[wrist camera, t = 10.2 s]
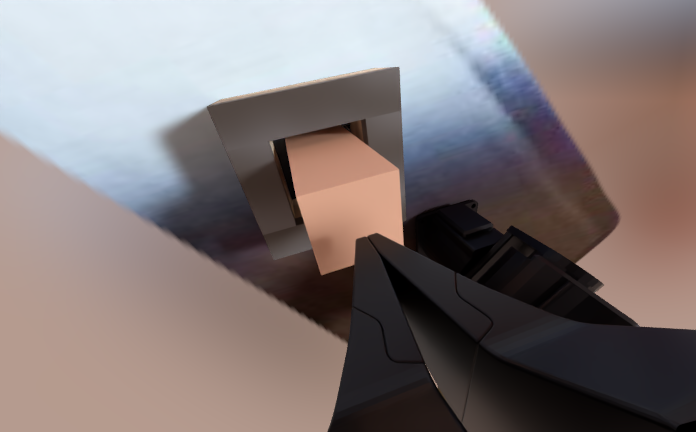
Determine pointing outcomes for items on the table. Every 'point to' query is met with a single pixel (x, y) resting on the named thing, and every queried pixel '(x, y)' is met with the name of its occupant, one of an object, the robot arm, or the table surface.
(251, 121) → the socket block
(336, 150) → the square peg
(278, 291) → the table surface
